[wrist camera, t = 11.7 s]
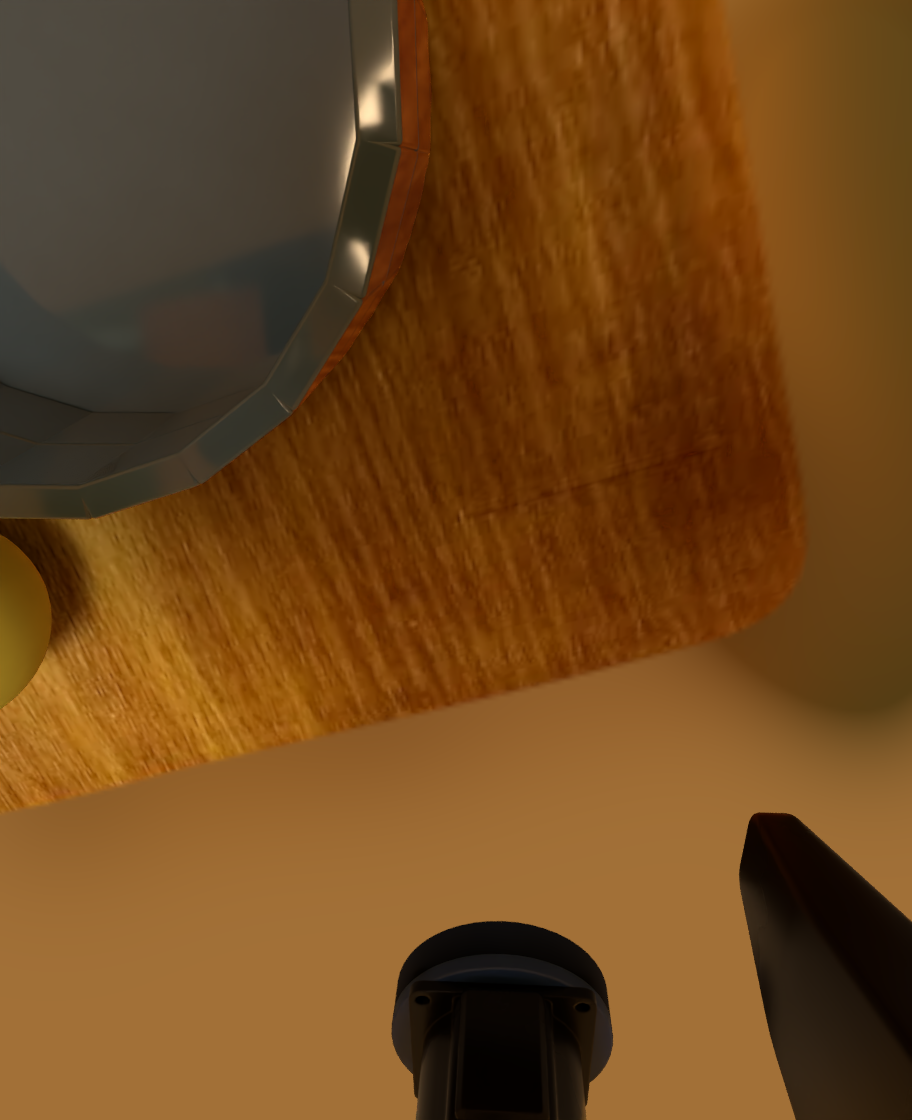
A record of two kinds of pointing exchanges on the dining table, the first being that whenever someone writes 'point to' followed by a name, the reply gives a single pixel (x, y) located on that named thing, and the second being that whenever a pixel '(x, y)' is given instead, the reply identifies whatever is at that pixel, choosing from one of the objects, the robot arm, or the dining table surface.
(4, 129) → the bowl
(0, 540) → the pear toy
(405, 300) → the dining table surface
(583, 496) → the dining table surface
